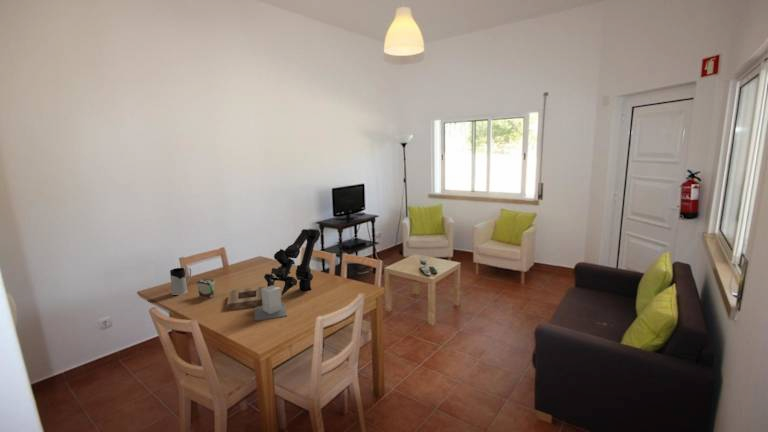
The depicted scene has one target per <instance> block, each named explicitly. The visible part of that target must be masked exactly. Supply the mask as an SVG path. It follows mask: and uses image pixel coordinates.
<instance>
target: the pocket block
mask: <svg viewBox="0 0 768 432" xmlns="http://www.w3.org/2000/svg"><path fill="white" fill-rule="evenodd" d="M263 288H266V286H265V285H263V286H256V287H249V288H240V289H233V290H229V292H228V297H227V302H226V303H227V304H226V305H227V307H226V308H227V310H228V311H229V310H237V309H245V308H250V307H252V308H253V307H261V306H263V303H262V291H261V289H263Z"/></svg>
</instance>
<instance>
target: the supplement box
mask: <svg viewBox="0 0 768 432" xmlns="http://www.w3.org/2000/svg"><path fill="white" fill-rule="evenodd" d="M261 291H262V303H263V305H262V306H263V311H265V312H267V313H269V314H272V313H275V312H277V311H280V310H282V306H281V304H282V295H281V294H282V291H281V287H279V286H276V285H272V286H269V287H267V286H265V288H263V289H261Z"/></svg>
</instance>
